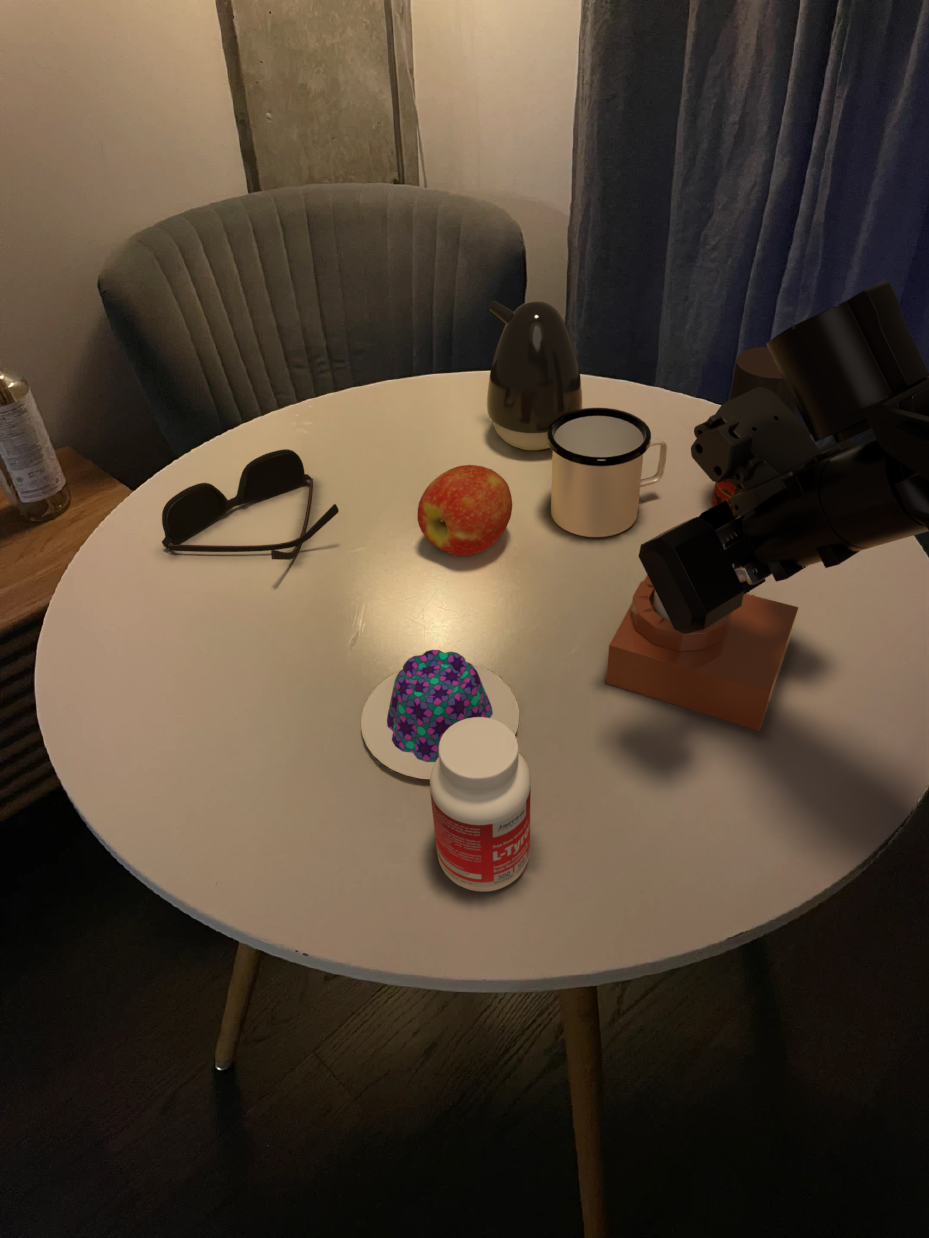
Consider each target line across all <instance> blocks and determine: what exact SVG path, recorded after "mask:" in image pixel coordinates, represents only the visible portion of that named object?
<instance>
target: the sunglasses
mask: <svg viewBox="0 0 929 1238" xmlns="http://www.w3.org/2000/svg"><path fill="white" fill-rule="evenodd" d="M306 484H308V485H309V489H308V498H307V506H306V511H305V516H304V521H303V525H302V529H301V532H300V536H299V537H298V538H295V539H293V540H290V541H286V542H285V541H284V542H280V543H272V544H260V545H259V544H256V545H211V544H210V545H208V544H207V545H205V544H179V543H180V542H182V541H185V540H186V539H189V538H191V537H192V536H194V535H196V534H197V533H199V532H200V531H202V530H204V529H205V528H207V527H208V526H210V525H211V524H212V523H214V522H215V521H217V520H218V519H219V518H221V517H222V516H224V515H225V514H226V513H227V512H230V511H231V510H232V509H234V508H235V507H238V506H243V505H247V504H250V503H254V502H258V501H262V500H266V499H270V498H273V497H277V496H279V495H282V494H284V493H285V494H286V493H288V492H290V491H292V490H294V489H297V488H299V487H301V486H304V485H306ZM313 487H314V480H313V477H311V476H310V475H309V474H307V473H305V467H304V463H303V460H302V458H301V457H300V456H299V454H297V452H295V451H294V450H292V449H289V448H285V449H279V450H274V451H270V452H266V453H265V454H262V455H260V456H258V457H256V458H254V459H253V460H251V461H250V462H248V463H247V464H246V465H245V467H244V469H243V470H242V471H241V475H240V478H239V482H238V487H237V491H236V495H235V496H234V497H231V498H230V499H228V498H227V497H226V496H225V494H224V493H223V492H222V491H221V490H220V489H219V488H217V487H216V486H215V485H213V484H212V483H209V482H200V483H195V484H194V485H191V486H188V487H186V488H184V489H183V490H181V491H179V492H178V493H176V494H175V495H174V496H172V497H171V498H170V499H169V500H168V501H167V502H166V503H165V505H164V507H163V509H162V512H161V525H162V529H163V532H164V538H163V539H162V540H161V544H162V545H163V547H164V548H165V549H168V551H170V552H191V553H192V552H195V553H196V552H197V553H199V552H200V553H240V552H241V553H246V552H247V553H249V552H251V553H252V552H267V551H269V552H270V553H271V554H270V555H271V560H278V561H279V560H280V561H281V560H282V561H283V560H284V561H286V560H287V561H288V560H289V561H290V560H292V559H294V558H295V557H297V555H298V554H299V551H300V549H301V547H302V545H303V544H304V543H305V542H307V541H309V540H310V539H311V538H313V537H314V536H315V534H317V533H318V532H319V531H320V530H321V529H322V528H323V527H324V526H325V525H326V524H328V523H329V522H330V521H331V520H332V519H333V518H334V517H335V516H336V515H338V514H339V511H340V510H339V507H338V506H337V504H336V503H333V504H332V505H331V507H329V508H328V509H327V511H325V513H324V514H323V515H322V516H321V517H319V519H318V520H317V521H316V522H315V523H314V524H313V525H312V526H311V527H310V528H309V529H308V530H307V528H308V523H309V517H310V514H311V507H312V501H313V500H312V499H313ZM291 548H293V550H292V551H290V552H285V551H280V550H285V549H291Z"/></svg>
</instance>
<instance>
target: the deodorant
mask: <svg viewBox="0 0 929 1238" xmlns="http://www.w3.org/2000/svg"><path fill="white" fill-rule="evenodd" d="M759 387H763V388H767V389H769V390H771V391H772V392H774V393H775V394H776V395H777V396H778V397H779V398H780V399H781V401H782V402H783V403H784V404H785V405H786V406H787V407H788V408H789V409H790V410H791V412H792V413H793V414H794V415H795V416H796V417H797V414H798V411H799V410H798V408H797V406H796V404H795V402H794V400H793V398H792V396H791V394H790V392H789V390H788V388H787V386H786V384H785V382H784V380H783V378H782V376H781V374H780V372H779V370H778V368H777V366H776V364H775V362H774V360H773V358H772V355H771V353H770V351H769V349H768V347H767V346H760V347H752V348H749V349H746V350H744V351H742V352H740V353H739V354H737V356H736V358H735V363H734V370H733V375H732V382H731V388H730V394H729V399H728V401H730V400H732V399H734V398H736V397H738V396H740V395H742V394H744V393H747V392H749V391H751V390H753V389H755V388H759ZM742 491H743V489H740V488H738V487H736V486H735V485H733V484H732V483H731V482H730V480H729V479H726V480H724V481H722V482H714V488H713V493H712V501H711V504H712V505H711V506H712V507H714V506H716V505H717V504H719V503H721V502H723V501H725V500H727V502H728V504H729V506H730V508H731V511H732V513H733V515H735V510H734V508H733V506H732V504H731V502H730V500H729V498H731V497H733V496H735V495H736V494H738V493H741V492H742ZM712 507H711V508H712Z"/></svg>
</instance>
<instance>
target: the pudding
mask: <svg viewBox="0 0 929 1238" xmlns="http://www.w3.org/2000/svg"><path fill="white" fill-rule="evenodd" d="M519 710H520V709H519V704H518V702H517V698H516V696H515V694H514V693H513V691H512V689H511V688H510V687H509V685H508V684H506V682H505V681H504V680H503V679H502V678H500V677H499V676H498V675H496V674H495V673H494V672H493V671H490V670H489V669H486V668H485V667H483V666H480V665H477V664H474V663H472V662H469V661H467V660H466V658H465V657H464V656H463V655H461V654H460V653H458V652H455V651H446V652H444V651H442V650H440V649H429V650H426V651H425V652H423V654H421V655H420V654H419V655H413V656H412V657H409V658H408V659H406V661H405V662H404V663H403V666H402V669H400V670H398V671H396V672H394V673H392V674H391V675H389V676H387V677H386V678H385V679H384V680H383V681H381V682H380V683H379V684H378V685H377V686H376V687H375V688H374V689H373V690H372V692H371V693H370V694H369V696H368V698H367V699H366V702H365V704H364V706H363V709H362V712H361V716H360V717H361V719H360V728H361V734H362V735H361V736H362V738H363V740H364V743H365V746H366V747H367V748H368V750H369V751H370V753H371V754H372V756H373V757H375V758H376V759H377V760H378V761H379V762H380V763H381V764H383V765H384V766H386V767H387V768H389V769H390V770H392V771H394V772H398V774H402V775H404V776H407V777H412V778H416V779H420V780H421V779H422V780H430V776H431V771H432V768H433V766H434V764H435V762H436V760H437V759H438V758H439V743H440V740H441V737H442V736H443V734H444V733H445V731H446V730H447V729H448V728H449V727H451V726H452V725H453V724H455V723H457V722H459V721H461V720H464V719H467V718H473V717H485V718H491V719H494V720H497V721H499V722H501V723H503V724H504V725H506V726H507V727H508V728H509V729H510V730H511V731H512V732H513V733H514V735H515V736H516V733H517V731H518V728H519V721H520V711H519Z"/></svg>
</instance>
